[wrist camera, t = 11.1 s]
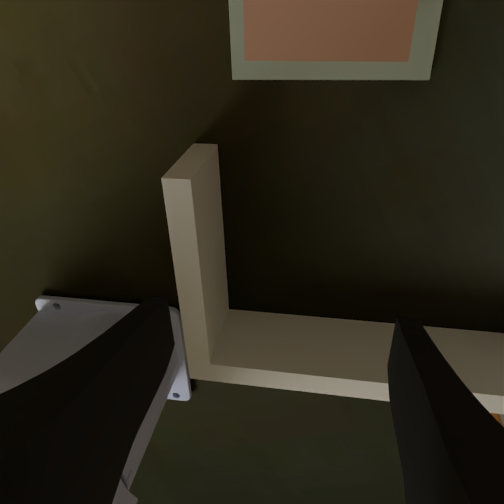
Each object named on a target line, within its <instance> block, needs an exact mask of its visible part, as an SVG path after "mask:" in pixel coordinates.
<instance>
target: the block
mask: <svg viewBox="0 0 504 504" xmlns="http://www.w3.org/2000/svg"><path fill="white" fill-rule="evenodd" d="M417 4H418V0H243V11H244V55H245V61H356V62H408V61H409V55H410V49H411V42H412V36H413V30H414V23H415V17H416V11H417Z"/></svg>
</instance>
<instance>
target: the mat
mask: <svg viewBox="0 0 504 504" xmlns="http://www.w3.org/2000/svg"><path fill="white" fill-rule="evenodd" d="M442 5H443V0H418V4H417V11H416V17H415V23H414V30H413V36H412V42H411V49H410V55H409V61H408V62H356V61H245V55H244V11H243V0H229V20H230V41H231V62H232V80H430V74H431V68H432V63H433V57H434V51H435V45H436V40H437V34H438V28H439V22H440V16H441V11H442Z"/></svg>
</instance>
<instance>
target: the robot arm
mask: <svg viewBox="0 0 504 504" xmlns="http://www.w3.org/2000/svg"><path fill="white" fill-rule="evenodd" d="M35 303H36V306H37V309H38V313H37V314H36V315H35V316H34V317H33V318H32V319H31V320H30V321H29V322H28V323H27V324H26V326H25V327H24V328H23V329H22V330H21V331H20V332H19V333H18V334H17V335H16V336H15V337H14V339H13V340H12V341H11V342H10V343H9V344H8V345H7V346H6V347H5V348H4V349H3V350H2V352H1V353H0V504H137V501H138V499H137V498H136V497H135V496H134V495H132V494H131V493H130V492H129V488H130V486H131V484H132V481H133V479H134V476H135V474H136V472H137V469H138V467H139V465H140V462H141V460H142V457H143V455H144V453H145V450H146V448H147V445H148V443H149V441H150V438H151V436H152V433H153V431H154V429H155V426H156V424H157V421H158V419H159V417H160V414H161V412H162V409H163V407H164V405H165V402H166V400H167V399H174V400H182V401H187V400H189V399H190V398H191V395H192V392H191V385H190V378H189V371H188V364H187V357H186V350H185V343H184V336H183V329H182V322H181V315H180V312H179V310H178V309H176V308H175V307H169V304H168V298H167V297H156V296H149V297H148V298H146V299H145V300H144V301H143V302H141V303H140V304H135V303H123V302H112V301H101V300H89V299H78V298H67V297H55V296H44V295H43V296H39V297H38V298H37V299H36V301H35ZM58 304H59V305H58ZM387 371H388V388H389V399H390V405H391V411H392V416H393V422H394V427H395V433H396V438H397V443H398V449H399V454H400V459H401V465H402V471H403V478H404V486H405V498H406V504H504V427H503V426H502V425H501V424H500V423H499V422H498V421H497V420H496V419H495V418H494V417H493V416H492V415H491V414H490V413H489V411H488V410H487V409H486V408H485V407H484V406H483V405H482V404H481V403H480V402H479V400H478V399H477V398H476V397H475V396H474V395H473V393H472V392H471V391H470V390H469V389H468V388H467V386H466V385H465V384H464V383H463V381H462V380H461V379H460V378H459V376H458V375H457V374H456V372H455V371H454V370H453V368H452V367H451V366H450V364H449V363H448V362H447V361H446V359H445V358H444V356H443V355H442V354H441V352H440V351H439V349H438V348H437V346H436V345H435V343H434V342H433V340H432V339H431V337H430V336H429V334H428V333H427V331H426V330H425V328H424V327H423V325H422V323H421V322H420V321H419V320H418V319H415V318H403V317H396V322H395V327H394V333H393V338H392V343H391V349H390V354H389V360H388V365H387Z"/></svg>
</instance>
